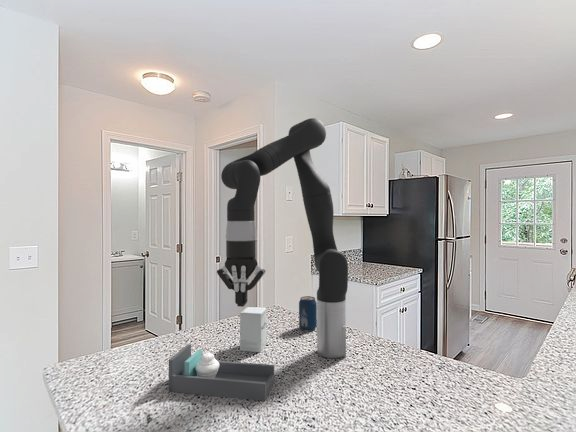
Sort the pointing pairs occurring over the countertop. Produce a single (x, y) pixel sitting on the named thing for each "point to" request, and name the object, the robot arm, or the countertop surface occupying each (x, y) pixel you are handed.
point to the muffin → (207, 366)
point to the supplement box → (253, 329)
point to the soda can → (307, 313)
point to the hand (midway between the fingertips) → (241, 305)
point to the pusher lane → (222, 379)
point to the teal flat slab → (192, 363)
